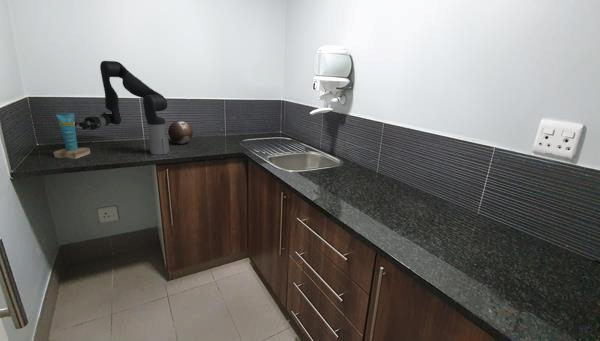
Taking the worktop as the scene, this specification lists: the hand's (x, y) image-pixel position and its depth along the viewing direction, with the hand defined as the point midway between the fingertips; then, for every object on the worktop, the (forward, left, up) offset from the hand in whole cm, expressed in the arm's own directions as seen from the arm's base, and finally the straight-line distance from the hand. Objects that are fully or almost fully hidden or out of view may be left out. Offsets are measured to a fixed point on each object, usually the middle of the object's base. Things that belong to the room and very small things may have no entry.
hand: (74, 127), depth 156 cm
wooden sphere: (-43, -34, -15) cm, 57 cm away
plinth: (0, +5, -14) cm, 15 cm away
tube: (0, +5, -11) cm, 12 cm away
